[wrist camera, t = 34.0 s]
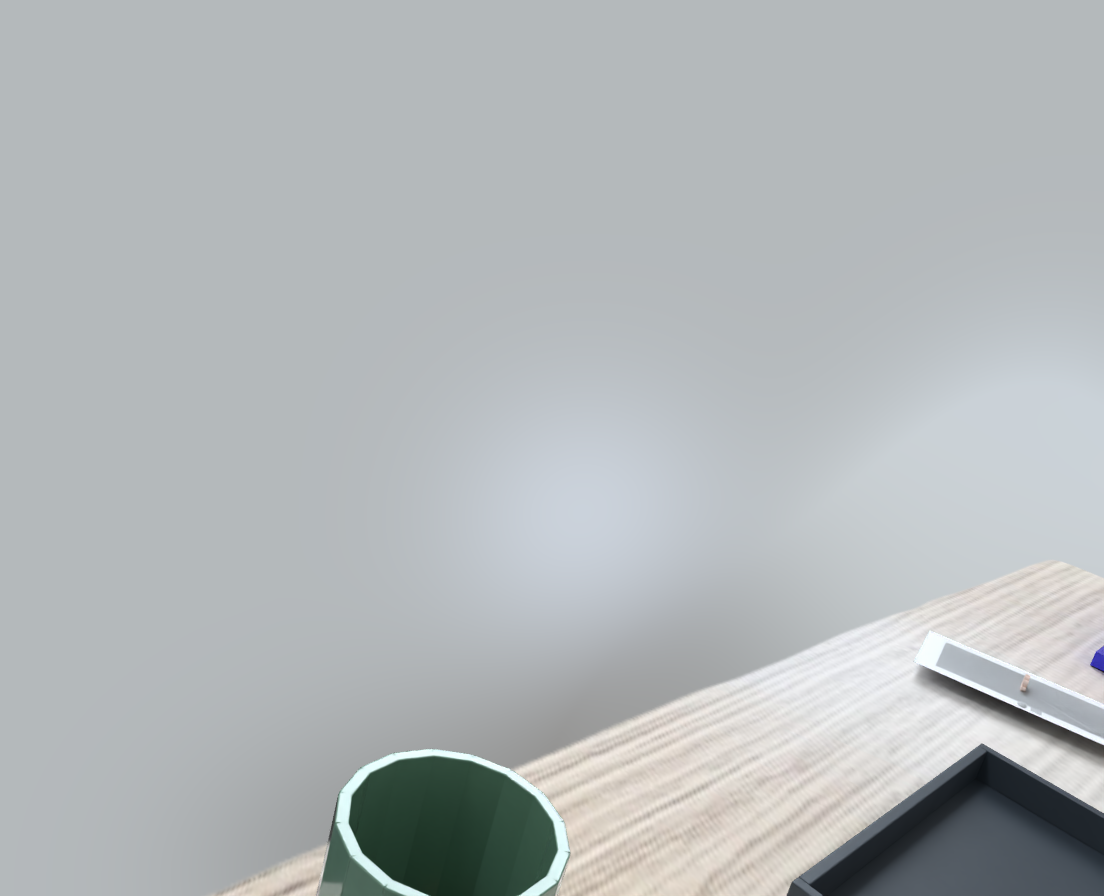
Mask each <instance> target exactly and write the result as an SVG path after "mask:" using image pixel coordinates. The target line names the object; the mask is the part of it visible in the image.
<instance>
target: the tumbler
mask: <svg viewBox="0 0 1104 896" xmlns="http://www.w3.org/2000/svg"><path fill="white" fill-rule="evenodd" d="M569 858H570V848H569V843H568V838H567V833H566V827H565V823H564V821H563V819H562V818H561V816H560V815H559V814H558V812H557V811H556V809H555V808H554V807H553V805H552V804H551V803H550V801H549V800H548V798H547V797H546V796H545V794H543V792H541V791H540V790H539V789H537V788H536V787H535V786H533V785H532V784H530V783H529V782H528V781H526V780H525V779H524V778H522V777H521V776H519V775H518V774H517V773H515V772H514V771H512V770H510V769H508V768H505V767H503V766H500V765H498V764H495V763H493V762H490V761H488V760H485V759H483V758H480V757H477V756H475V755H471V754H465V753H458V752H451V751H444V750H437V749H425V750H416V751H407V752H398V753H393V754H390V755H387V756H385V757H383V758H380V759H378V760H376V761H374V762H372V763H370V764H367V765H365V766H363V767H361V768H360V769H359V770H358V771H357V772H356V773H355V774H354V776H353V777H352V778H351V779H350V780H349V781H348V782H347V784H346V785H345V786H344V787H343V788H342V789H341V791H340V792H339V794H338V798H337V803H336V808H335V812H334V816H333V821H332V826H331V831H330V835H329V839H328V844H327V848H326V853H325V857H324V862H323V866H322V871H321V875H320V880H319V885H318V889H317V894H316V896H558V894H559V890H560V887H561V884H562V880H563V877H564V874H565V871H566V867H567V864H568V861H569Z"/></svg>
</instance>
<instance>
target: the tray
mask: <svg viewBox="0 0 1104 896" xmlns="http://www.w3.org/2000/svg"><path fill="white" fill-rule="evenodd" d="M787 896H1104V813H1102V812H1100V811H1099V810H1097V809H1095V808H1093V807H1092V806H1090V805H1088V804H1086V803H1085V802H1083V801H1081V800H1079V799H1078V798H1076V797H1074V796H1072V795H1071V794H1069V793H1067V792H1066V791H1064V790H1062V789H1060V788H1059V787H1057V786H1055V785H1053V784H1052V783H1050V782H1048V781H1046V780H1045V779H1043V778H1041V777H1039V776H1038V775H1036V774H1034V773H1032V772H1031V771H1029V770H1027V769H1026V768H1024V767H1022V766H1020V765H1019V764H1017V763H1015V762H1013V761H1012V760H1010V759H1008V758H1006V757H1005V756H1003V755H1001V754H999V753H998V752H996V751H994V750H993V749H991V748H989V747H987V746H986V745H984V744H980V745H979V746H978V747H976V748H975V749H974V750H972V751H971V752H970V753H968V754H967V755H965V756H964V757H963V758H961V759H960V760H959V761H957V762H956V763H955V764H953V765H952V766H950V767H949V768H948V769H946V770H945V771H944V772H942V773H941V774H939V775H938V776H937V777H935V778H934V779H933V780H931V781H930V782H928V783H927V784H926V785H924V786H923V787H922V788H920V789H919V790H917V791H916V792H915V793H913V794H912V795H911V796H909V797H908V798H906V799H905V800H904V801H902V802H901V803H900V804H898V805H897V806H895V807H894V808H893V809H891V810H890V811H889V812H887V813H886V814H884V815H883V816H882V817H880V818H879V819H878V820H876V821H875V822H873V823H872V824H871V825H869V826H868V827H867V828H865V829H864V830H863V831H861V832H860V833H858V834H857V835H856V836H854V837H853V838H852V839H850V840H849V841H847V842H846V843H845V844H843V845H842V846H841V847H839V848H838V849H836V850H835V851H834V852H832V853H831V854H830V855H828V856H827V857H825V858H824V859H823V860H821V861H820V862H819V863H817V864H816V865H814V866H813V867H812V868H810V869H809V870H808V871H806V872H805V873H803V874H802V875H801V876H799V878H797V879H795V880H794V881H793V882H792V883H791V886H790V888H789V891H788V894H787Z"/></svg>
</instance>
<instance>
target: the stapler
mask: <svg viewBox="0 0 1104 896" xmlns="http://www.w3.org/2000/svg"><path fill="white" fill-rule="evenodd" d="M1090 665H1091V666H1094V667H1096V668H1098V669H1100V670H1102V671H1104V646H1103V647H1102V648H1100V649H1099V650H1098V651H1097V652H1096V653H1095V656H1094V658H1093V660H1092V662H1091V664H1090Z"/></svg>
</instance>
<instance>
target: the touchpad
mask: <svg viewBox="0 0 1104 896" xmlns="http://www.w3.org/2000/svg"><path fill="white" fill-rule="evenodd" d="M914 662H915V663H917V664H920V665H922V666H924V667H926V668H929V669H931V670H933V671H936V672H938V673H940V674H942V675H945V676H947V677H949V678H952V679H954V680H956V681H958V682H961V683H963V684H965V685H967V686H970V687H972V688H974V689H977V690H979V691H981V692H983V693H986V694H988V695H990V696H993V697H995V698H997V699H999V700H1002V701H1004V702H1006V703H1009V704H1011V705H1013V706H1015V707H1018V708H1020V709H1022V710H1024V711H1027V712H1029V713H1031V714H1034V715H1036V716H1038V717H1040V718H1043V719H1045V720H1047V721H1050V722H1052V723H1054V724H1056V725H1059V726H1061V727H1063V728H1066V729H1068V730H1070V731H1072V732H1075V733H1077V734H1079V735H1081V736H1084V737H1086V738H1088V739H1091V740H1093V741H1095V742H1097V743H1100V744H1102V745H1104V704H1102V703H1100V702H1098V701H1095V700H1093V699H1091V698H1088V697H1086V696H1084V695H1081V694H1079V693H1076V692H1074V691H1072V690H1069V689H1067V688H1065V687H1062V686H1060V685H1057V684H1055V683H1053V682H1050V681H1048V680H1046V679H1043V678H1041V677H1039V676H1036V675H1034V674H1031V673H1029V672H1027V671H1024V670H1022V669H1020V668H1017V667H1015V666H1012V665H1010V664H1008V663H1005V662H1003V661H1001V660H998V659H996V658H994V657H991V656H989V655H986V654H984V653H982V652H979V651H977V650H975V649H972V648H970V647H968V646H965V645H963V644H960V643H958V642H956V641H953V640H951V639H949V638H946V637H944V636H941V635H939V634H937V633H934V632H932V631H929V633H928V635H927V637H926V639H925V641H924V643H923V644H922V646H921V648H920V650H919V652H918V654H917V656H916V658H915V660H914Z"/></svg>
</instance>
